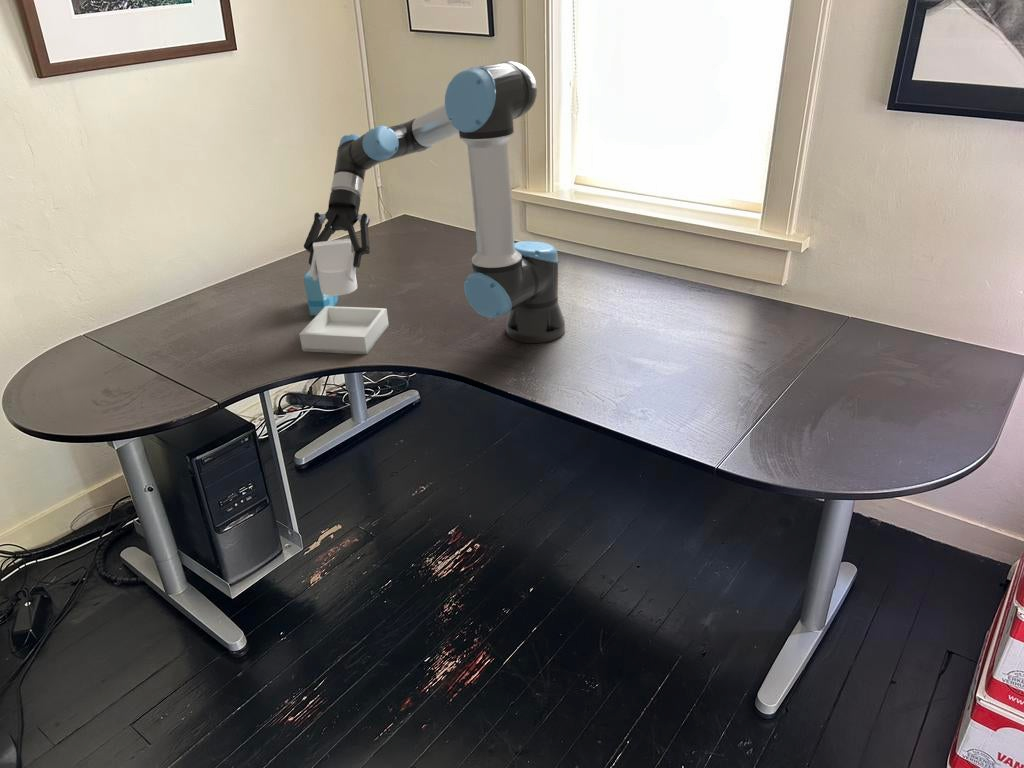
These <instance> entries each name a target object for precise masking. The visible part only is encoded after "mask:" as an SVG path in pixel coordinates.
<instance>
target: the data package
mask: <svg viewBox="0 0 1024 768" xmlns="http://www.w3.org/2000/svg"><path fill="white" fill-rule="evenodd" d="M310 270H311V268H310V269H309V270H308V271H307V272H306V273H305V274H304V276H303V277H304V278H303V282H304V288H305V294H306V298H307V299H306V300H307V305H308V309H309V314H310V316H312V317H316V316H317V315H318V314H319V313H320V312H321V311H322V309H323V308H324V307H325V306H336V304H337V303H338V301H339V296H330V295H325V294H323V293H322V292H321V288H320V283H319V277H318V276H317V280H313V279H312V278H311V277H310V276H309V275H310Z"/></svg>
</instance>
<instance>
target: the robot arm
mask: <svg viewBox="0 0 1024 768" xmlns="http://www.w3.org/2000/svg"><path fill="white" fill-rule="evenodd" d="M446 87H447V88H446V91H445V94H444V104H443V105H440V106H437V107H436V108H434V109H432V110H430V111H428V112H426V113H424V114H421V115H419V116H417V117H415V118H413V119H411V120H409V121H405V122H404V123H400V124H395V125H392V126H385V125H378V126H376V127H375V128H370V129H369V130H368V131H367V132H366V133H364V134H362V135H359V134H354V133H352V134H345V135H343V136H342V137H341V138H340V141H339V145H338V147H337V151H336V154H337V155H336V160H335V166H334V171H333V177H332V182H331V188H330V191H331V192H330V194H329V199H328V205H327V206H328V207H327V211H326V212H325V213H319V212H315V213H314V215H313V216H314V217H313V223H312V224H311V227H310V230H309V232H308V235H307V236H306V240H305V241H304V244H303V248H304V249H305V250H306V251H307V252H308V253H309V257H308V258H309V259H308V264H309V265H310V269H311V270H310V269H309V270H310V275H309V276H310V277H311V278H312V279H313V280H317V276H318V272H317V266H316V260H315V255H314V249H313V243H315V242H323V241H329V239H330V238H331V236H332V235H334V234H335V232H336V231H337V232H338V231H345V232H347V234H348V237H349V239H350V240H351V246H352V248H353V251H352V252H351V256H350V262H349V268H348V274H347V277H348V279H349V280H350V281H354V278H355V273H356V271H357V268H360V266H361V260H362V257H363V255H369V254H370V253H371V249H370V237H369V224H370V218H369V216H368V214H366V213H362V214H360V206H361V198H362V194H363V186H364V182H365V177H366V172H367V170H370V169H371V168H373V167H375V166H377V165H378V164H381V163H384V162H387V161H392V160H393V159H394V160H395V159H398V158H400V157H404V156H408V155H412V154H414V153H421V152H423V151H426V150H427V149H430V148H431V147H432V146H433V145H436V144H438V143H440V142H444V141H445V140H448V139H451V138H453V137H454V136H457V135H458V136H459V139H460V140H461V141H462V142H464V143H465V144H466V146H467V155H468V165H469V176H470V177H469V178H470V186H471V187H470V189H471V196H472V206H473V219H474V229H475V239H476V240H475V241H476V251H477V252H476V253H475V254H474V255H473V256H472V258H471V266H472V273H470V274H469V275H468V276H467V278H466V279H465V280H464V283H463V292H464V295H465V298H466V300H467V302H468V303H469V305H470V307H471V308H473V309H474V311H475V312H476V313H477V314H479V315H480V316H482V317H484V318H488V319H497V318H500V317H501V316H505V315H507V314H508V316H507V320H506V324H505V326H506V327H505V328H506V329H505V330H506V334H507V336H508V337H509V338H510V339H512V340H514V341H517V342H521V343H527V344H543V343H548V342H552V341H555V340H557V339H559V338H561V337H562V336H564V334H565V331H566V323H565V319H564V318H565V317H564V316H563V313H562V310H561V308H560V304H559V263H560V262H559V259H558V249H556V247H555V246H554V245H552V244H549V243H546V242H542V241H518V242H515V235H514V220H513V217H514V216H513V207H512V206H513V205H512V192H511V191H512V190H511V189H512V188H511V176H510V174H511V173H510V163H509V161H510V160H509V149H508V142H509V140H510V139H511V138H512V137H513V135H514V134H515V132H514V120H515V119H518V118H521V117H522V116H524V115H526V114H527V113H528V112H529V111H530V110H531V109H532V108H533V107H534V105H535V102H536V99H537V96H538V95H537V93H538V87H537V81H536V79H535V77H534V75H533V73H532V71H530V69H528V68H527V67H526V66H525V65H523V64H522V63H519V62H517V61H503V62H499V63H498V62H497V63H492V64H488V65H486V64H485V65H480V66H475V67H474V66H473V67H470V68H467V69H465V70H462V71H460V72H458V73H456V74H455V75H454V76H453V77H452V78H451V81H450V82H449V83H448V85H447V86H446ZM325 221H327V222H326V223H325ZM357 222H359V227H360V238H361V241H360V242H361V246H360V242H359V240H358V235H357V234H356V230H355V227H354V226H355V224H356V223H357ZM323 224H324V228H323ZM321 230H322V231H321Z"/></svg>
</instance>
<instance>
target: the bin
mask: <svg viewBox="0 0 1024 768" xmlns="http://www.w3.org/2000/svg"><path fill="white" fill-rule="evenodd" d="M388 317H389V316H388V309H387V308H384V307H383V308H382V307H381V308H380V307H379V308H378V307H360V306H358V307H357V306H336V305H335V306H325V307H324V308H323V309H322V311H321V312H320V313H319V314H318V315H317V316H314V317H313V319H312V320H311V321H310V322H309V323H308V324H306V325H307V326H305V327H304V329H303V330H301V332H299V334H298V335H299V339H300V340H299V341H300V344H301V350H302V352H312V353H328V354H332V353H333V354H349V355H352V354H353V355H365V356H366V355H368V354H369V353H370V351H371V350H372V349H373V347H374V346H375V344H377V341H379V339H380V338H381V336H382V335H383V334H384V332H385V331H386V330H387V328H388V327H389V326H390V325H389V318H388Z"/></svg>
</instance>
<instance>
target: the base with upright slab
mask: <svg viewBox="0 0 1024 768" xmlns="http://www.w3.org/2000/svg"><path fill="white" fill-rule="evenodd" d="M352 248H353V246H352V242H351V239H350V237H349V238H343V239H335V240H334V239H333V240H332V239H331V240H328V241H323V242H315V243H313V249H314V255H315V260H316V266H317V272H318V277H319V283H320V288H321V292H322V293H323V294H325V295H330V296H338V297H339V296H345V295H348V294H351V293H353V292H355V291H356V290H357V289H358V282H357V275H356V274H357V273H356V272H355V278H354V281H350V280H349V279H348V277H347V274H348V268H349V262H350V256H351V252H353V249H352Z"/></svg>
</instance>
